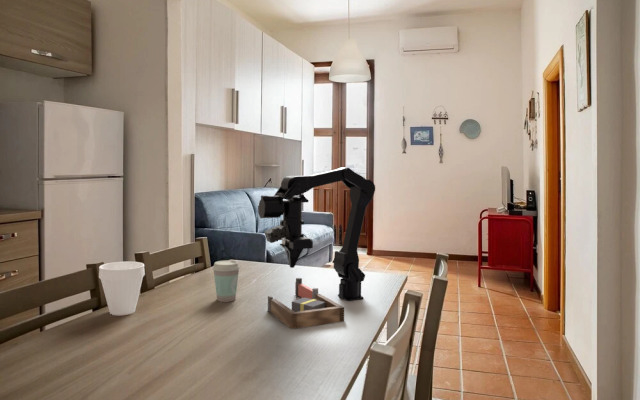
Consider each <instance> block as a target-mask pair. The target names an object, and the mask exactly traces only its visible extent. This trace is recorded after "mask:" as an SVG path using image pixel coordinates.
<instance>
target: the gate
mask: <svg viewBox="0 0 640 400" xmlns="http://www.w3.org/2000/svg"><path fill="white" fill-rule="evenodd" d="M294 284H295V287H294V288H295V291H294V292H295V293H294V294H295V296H298V297H300V299H301V298H304V297H305V298H309V299H315V294H319V288H318V287H313V288H311V287H310V286H307V285H305V284H303V278H302V277H296V278H295V283H294Z"/></svg>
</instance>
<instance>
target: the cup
mask: <svg viewBox="0 0 640 400" xmlns="http://www.w3.org/2000/svg"><path fill="white" fill-rule="evenodd" d="M98 271H99V272H98V278H99V279H100V282H101V285H102V290H103V292H104V296H105V299H106V304H107V308H108V311H109V314H110V315H111V314H112V315H111V316H127V315H132V314H134V313H135V312H136V309H137V308H136V307H137V304H138V300H139V296H140V293H141V287H142V282H143V278H144V277H145V275H146V273H145V263H144V262H139V261H128V260H127V261H116V262H115V261H114V262H113V261H112V262H108V263H104V264H101V265H99V267H98Z"/></svg>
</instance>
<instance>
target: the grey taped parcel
mask: <svg viewBox="0 0 640 400" xmlns="http://www.w3.org/2000/svg"><path fill="white" fill-rule="evenodd" d="M321 308H326V302H322V301H318V300H315V299H309V298H305V297H304V298H301V297H300V298H297V299H295V300H292V301H291V310H292V311H294V312H298V311H306V310H314V309H321Z"/></svg>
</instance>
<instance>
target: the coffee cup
mask: <svg viewBox="0 0 640 400" xmlns="http://www.w3.org/2000/svg"><path fill="white" fill-rule="evenodd" d="M240 267H241V266H240V264H239V261H237V260H229V259H227V260H226V259H225V260H218V261H215V262H214V264H213V266H212V270H213V274H214V275H213V276H214V282H215V283H214V284H215V285H214V286H215V294H216V300H217V301H218V302H221V303H223V302H224V303H228V302H233V301H235V300H236V298H237V289H238V282H239V281H238V280H239V271H240V269H241V268H240Z"/></svg>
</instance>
